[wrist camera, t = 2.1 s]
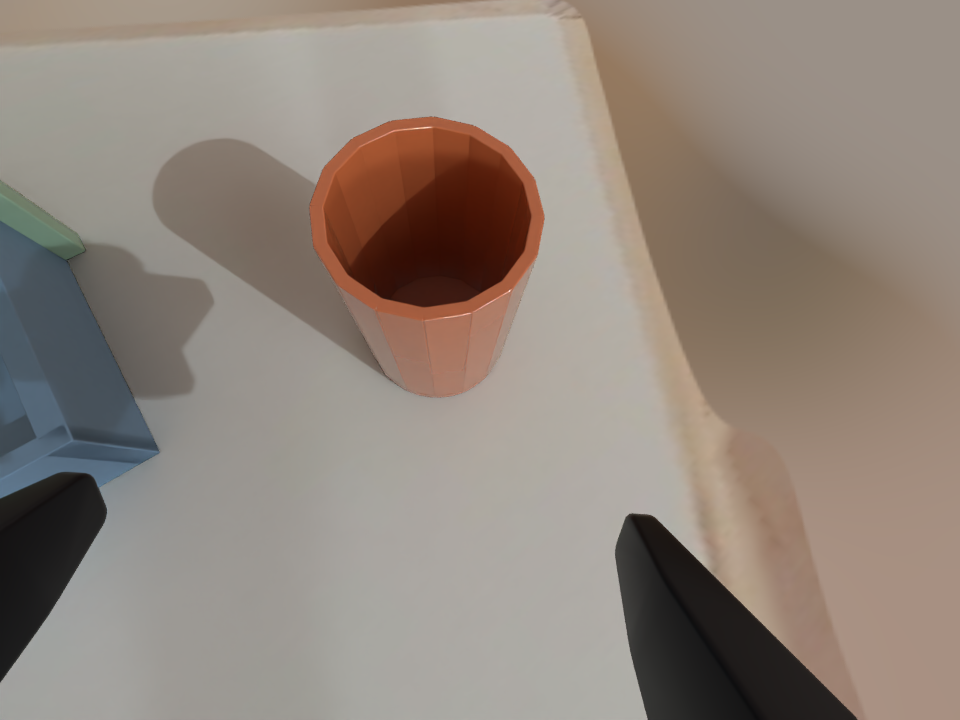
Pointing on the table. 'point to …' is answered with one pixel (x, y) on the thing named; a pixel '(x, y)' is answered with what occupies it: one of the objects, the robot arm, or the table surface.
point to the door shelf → (56, 362)
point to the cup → (429, 247)
